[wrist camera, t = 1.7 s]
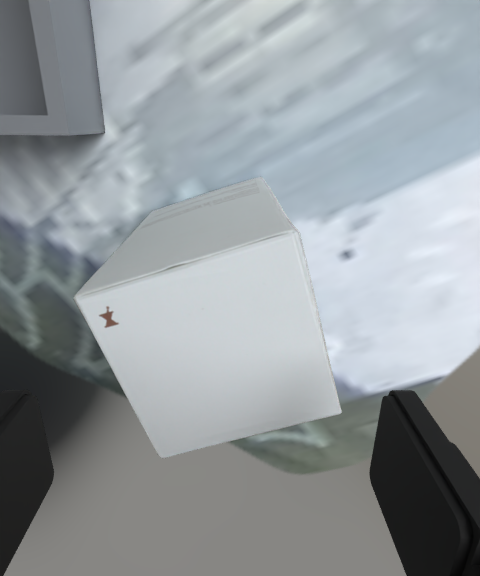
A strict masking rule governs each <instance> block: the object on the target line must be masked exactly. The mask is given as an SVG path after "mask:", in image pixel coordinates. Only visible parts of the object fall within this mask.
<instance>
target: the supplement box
mask: <svg viewBox="0 0 480 576" xmlns="http://www.w3.org/2000/svg"><path fill="white" fill-rule="evenodd" d="M74 301H75V302H76V304H77V306H78V308H79V309H80V311H81V313H82V315H83V317H84V318H85V320H86V322H87V324H88V325H89V327H90V329H91V331H92V333H93V335H94V337H95V339H96V340H97V342H98V344H99V346H100V348H101V350H102V352H103V354H104V355H105V357H106V359H107V361H108V363H109V365H110V367H111V368H112V370H113V372H114V374H115V376H116V378H117V380H118V382H119V384H120V385H121V387H122V389H123V391H124V393H125V395H126V397H127V398H128V400H129V402H130V404H131V406H132V408H133V410H134V412H135V413H136V415H137V417H138V419H139V421H140V423H141V424H142V426H143V428H144V430H145V432H146V433H147V435H148V438H149V440H150V441H151V443H152V445H153V447H154V449H155V450H156V452H157V453H158V455H159V456H160V457H161V458H167V457H170V456H174V455H179V454H182V453H186V452H189V451H193V450H198V449H201V448H204V447H208V446H213V445H217V444H221V443H225V442H229V441H233V440H237V439H241V438H245V437H249V436H253V435H257V434H261V433H265V432H269V431H273V430H277V429H281V428H285V427H289V426H293V425H297V424H301V423H305V422H309V421H313V420H317V419H321V418H325V417H329V416H333V415H338V414H340V413H341V412H342V411H341V408H340V404H339V399H338V395H337V391H336V386H335V382H334V378H333V374H332V370H331V366H330V361H329V357H328V352H327V348H326V344H325V339H324V335H323V330H322V326H321V321H320V317H319V313H318V308H317V304H316V299H315V295H314V291H313V286H312V282H311V278H310V273H309V269H308V265H307V260H306V256H305V252H304V248H303V244H302V239H301V235H300V232H299V231H298V230H297V229H296V227H295V226H294V225H293V224H292V223H291V221H290V220H289V218H288V217H287V215H286V214H285V212H284V210H283V209H282V207H281V205H280V204H279V202H278V200H277V198H276V197H275V195H274V194H273V192H272V190H271V189H270V187H269V186H268V184H267V183H266V182H265V180H264V179H263V178H262V177H257V178H253V179H250V180H246V181H243V182H240V183H237V184H233V185H230V186H227V187H224V188H221V189H218V190H215V191H212V192H209V193H206V194H203V195H199V196H196V197H193V198H190V199H187V200H184V201H181V202H178V203H175V204H172V205H169V206H166V207H163V208H160V209H157V210H154V211H151V213H150V214H149V215H148V216H147V217H146V218H145V219H144V220H143V221H142V223H141V224H140V225H139V226H138V227H137V228H136V229H135V230H134V231H133V232H132V234H131V235H130V236H129V237H128V238H127V239H126V240H125V241H124V242H123V243H122V244H121V246H120V247H119V248H118V249H117V250H116V251H115V252H114V253H113V254H112V255H111V256H110V258H109V259H108V260H107V261H106V262H105V263H104V264H103V265H102V266H101V267H100V268H99V269H98V271H97V272H96V273H95V274H94V275H93V276H92V277H91V278H90V279H89V280H88V281H87V282H86V283H85V285H84V286H83V287H82V288H81V289H80V290H79V291H78V292H77V293H76V295H75V296H74Z"/></svg>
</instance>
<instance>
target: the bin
mask: <svg viewBox="0 0 480 576" xmlns="http://www.w3.org/2000/svg"><path fill="white" fill-rule="evenodd" d="M99 133H105V128H104V119H103V111H102V103H101V94H100V86H99V78H98V69H97V61H96V52H95V44H94V36H93V27H92V19H91V11H90V2H89V0H0V135H84V134H99Z"/></svg>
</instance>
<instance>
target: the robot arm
mask: <svg viewBox="0 0 480 576" xmlns="http://www.w3.org/2000/svg"><path fill="white" fill-rule="evenodd" d="M53 476H54V469H53V465H52V461H51V456H50V452H49V447H48V443H47V439H46V434H45V430H44V426H43V421H42V417H41V412H40V408H39V403H38V399H37V397H36V396H33V395H32V394H31V392H30V391H29V390H4V391H3V392H2V393H0V576H3V575H4V573H5V571H6V569H7V568H8V565H9V563H10V562H11V560H12V558H13V556H14V554H15V552H16V550H17V549H18V547H19V545H20V543H21V541H22V539H23V537H24V535H25V533H26V531H27V529H28V528H29V526H30V524H31V522H32V520H33V518H34V516H35V514H36V513H37V511H38V509H39V507H40V505H41V503H42V501H43V499H44V498H45V496H46V494H47V492H48V490H49V488H50V486H51V484H52V481H53ZM370 480H371V484H372V487H373V490H374V492H375V495H376V497H377V500H378V503H379V505H380V508H381V510H382V513H383V516H384V518H385V521H386V523H387V526H388V528H389V531H390V534H391V536H392V539H393V542H394V544H395V547H396V549H397V552H398V554H399V557H400V559H401V562H402V564H403V567H404V570H405V573H406V575H407V576H480V479H479V477H478V476H477V474H476V473H475V471H474V470H473V469H472V467H471V466H470V464H469V463H468V462H467V460H466V459H465V457H464V456H463V455H462V453H461V452H460V450H459V449H458V448H457V447H456V445H455V444H453V443H451V442H449V440H448V439H447V437H446V436H445V434H444V433H443V432H442V430H441V429H440V427H439V426H438V424H437V423H436V422H435V420H434V419H433V417H432V416H431V414H430V413H429V412H428V410H427V408H426V407H425V406H424V404H423V403H422V401H421V400H420V398H419V397H418V395H417V394H416V393H415V392H414V391H412V390H392V391H390V393H389V395H388V396H384V397H383V399H382V404H381V409H380V415H379V420H378V426H377V432H376V437H375V443H374V449H373V454H372V460H371V466H370Z"/></svg>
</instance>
